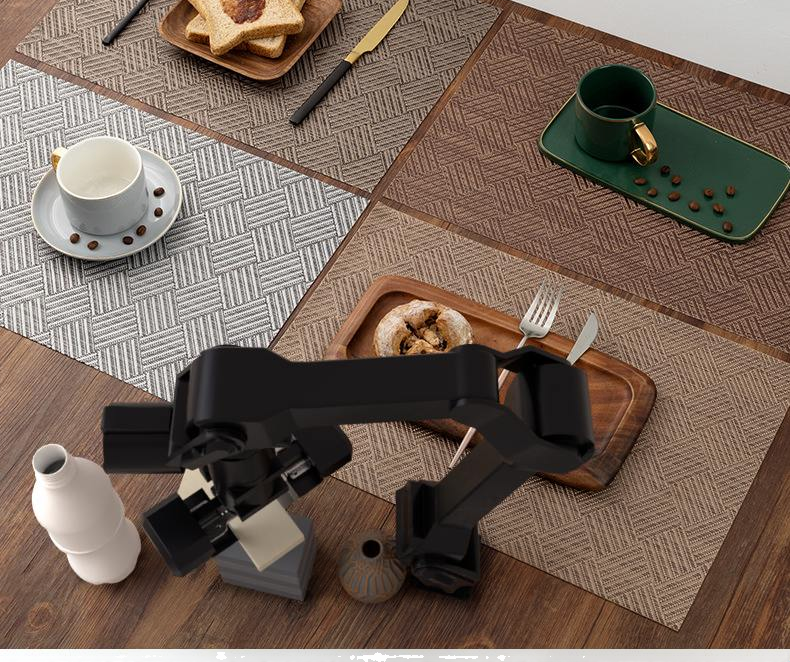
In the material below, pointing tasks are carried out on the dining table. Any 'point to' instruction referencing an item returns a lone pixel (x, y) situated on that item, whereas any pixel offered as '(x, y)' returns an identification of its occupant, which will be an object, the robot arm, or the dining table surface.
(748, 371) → the dining table surface
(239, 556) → the grey stack
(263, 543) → the beige flat block
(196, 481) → the beige rectangular block
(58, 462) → the water bottle
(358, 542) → the vase
